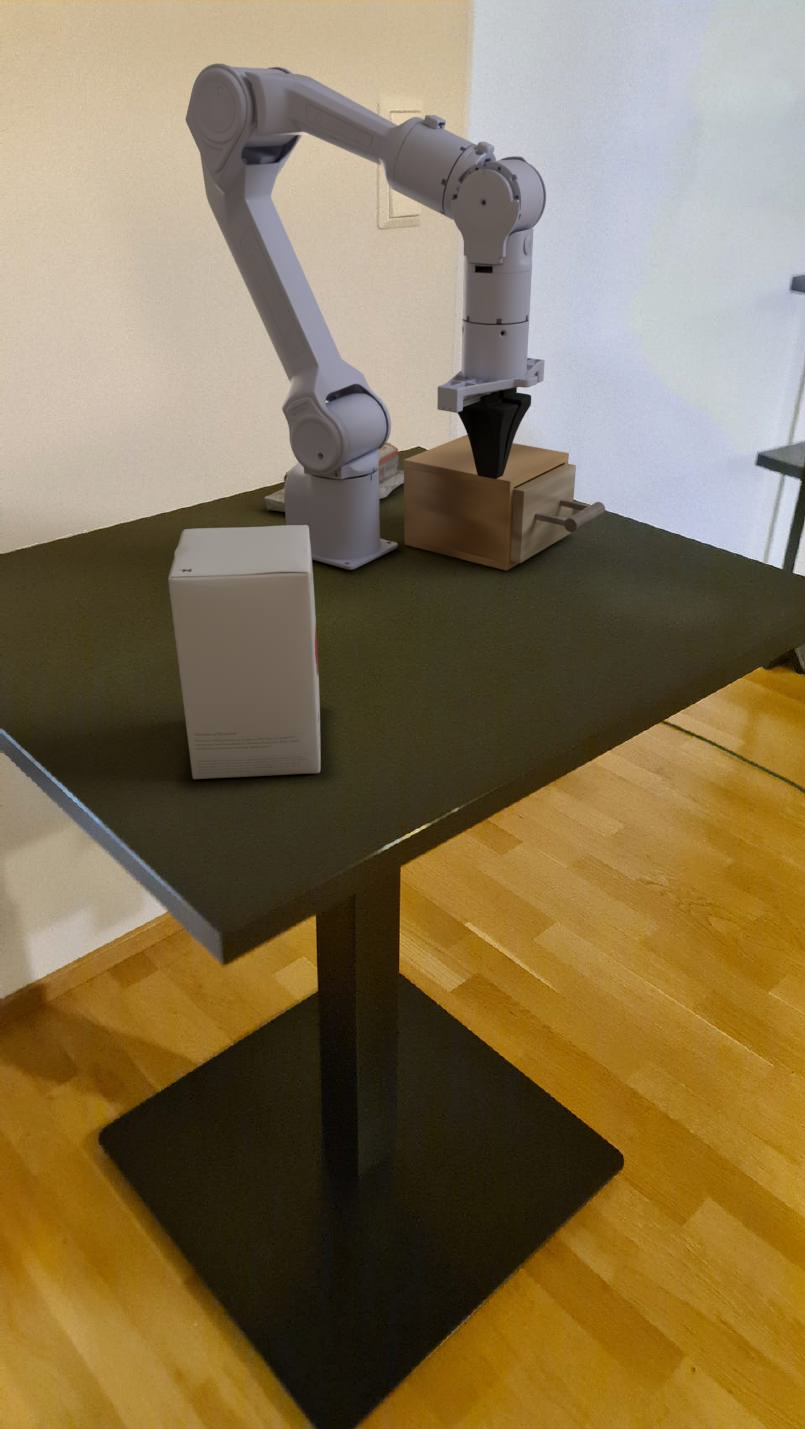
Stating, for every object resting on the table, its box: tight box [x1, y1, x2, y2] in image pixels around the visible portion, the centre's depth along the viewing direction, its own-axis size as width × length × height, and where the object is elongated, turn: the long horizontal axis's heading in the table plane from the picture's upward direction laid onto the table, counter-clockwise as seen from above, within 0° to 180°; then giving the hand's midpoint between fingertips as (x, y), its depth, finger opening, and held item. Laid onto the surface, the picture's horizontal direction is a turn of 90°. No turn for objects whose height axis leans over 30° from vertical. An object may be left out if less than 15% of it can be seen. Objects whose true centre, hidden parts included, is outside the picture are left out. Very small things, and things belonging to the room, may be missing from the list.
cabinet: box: [403, 434, 570, 571], centre depth 106 cm, size 13×12×9 cm
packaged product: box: [263, 442, 404, 513], centre depth 121 cm, size 18×5×10 cm
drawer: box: [510, 463, 606, 564], centre depth 104 cm, size 16×10×7 cm, turn 54°
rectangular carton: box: [167, 524, 322, 780], centre depth 70 cm, size 9×9×15 cm
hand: (490, 475), depth 94 cm, fingers closed
